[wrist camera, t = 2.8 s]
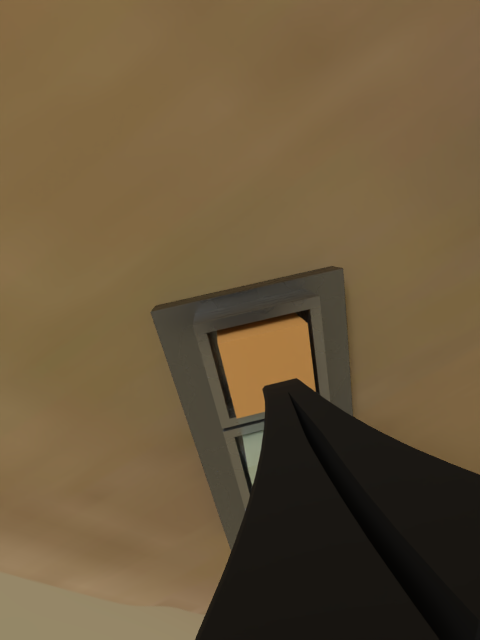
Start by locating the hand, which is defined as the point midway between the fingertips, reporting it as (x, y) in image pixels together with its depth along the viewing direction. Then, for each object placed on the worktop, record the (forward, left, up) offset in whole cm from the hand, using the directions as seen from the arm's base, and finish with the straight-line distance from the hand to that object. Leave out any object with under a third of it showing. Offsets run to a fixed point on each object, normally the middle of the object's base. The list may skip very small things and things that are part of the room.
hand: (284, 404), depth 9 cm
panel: (-6, 0, -6) cm, 8 cm away
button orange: (0, 0, -4) cm, 4 cm away
